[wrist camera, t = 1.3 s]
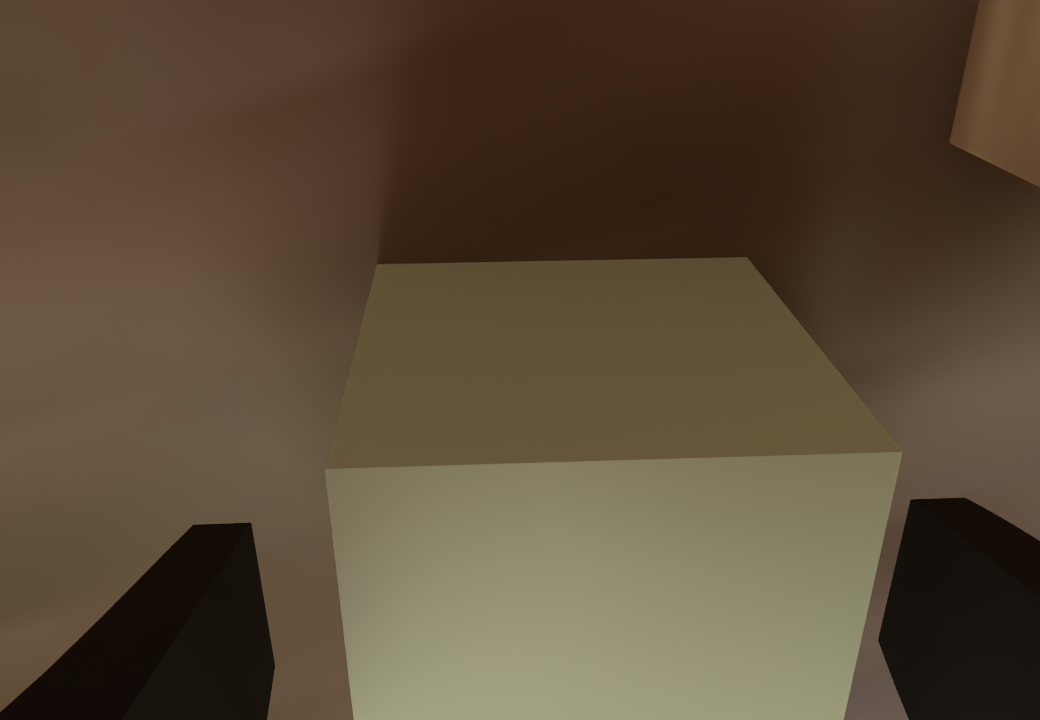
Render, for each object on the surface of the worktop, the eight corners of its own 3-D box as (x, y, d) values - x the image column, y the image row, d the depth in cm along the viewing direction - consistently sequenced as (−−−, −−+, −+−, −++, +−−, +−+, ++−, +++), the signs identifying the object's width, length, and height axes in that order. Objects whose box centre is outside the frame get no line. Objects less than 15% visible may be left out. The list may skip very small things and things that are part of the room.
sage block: (745, 255, 12) (901, 451, 8) (711, 548, 15) (819, 830, 10) (376, 262, 12) (323, 468, 8) (400, 558, 14) (370, 852, 10)
